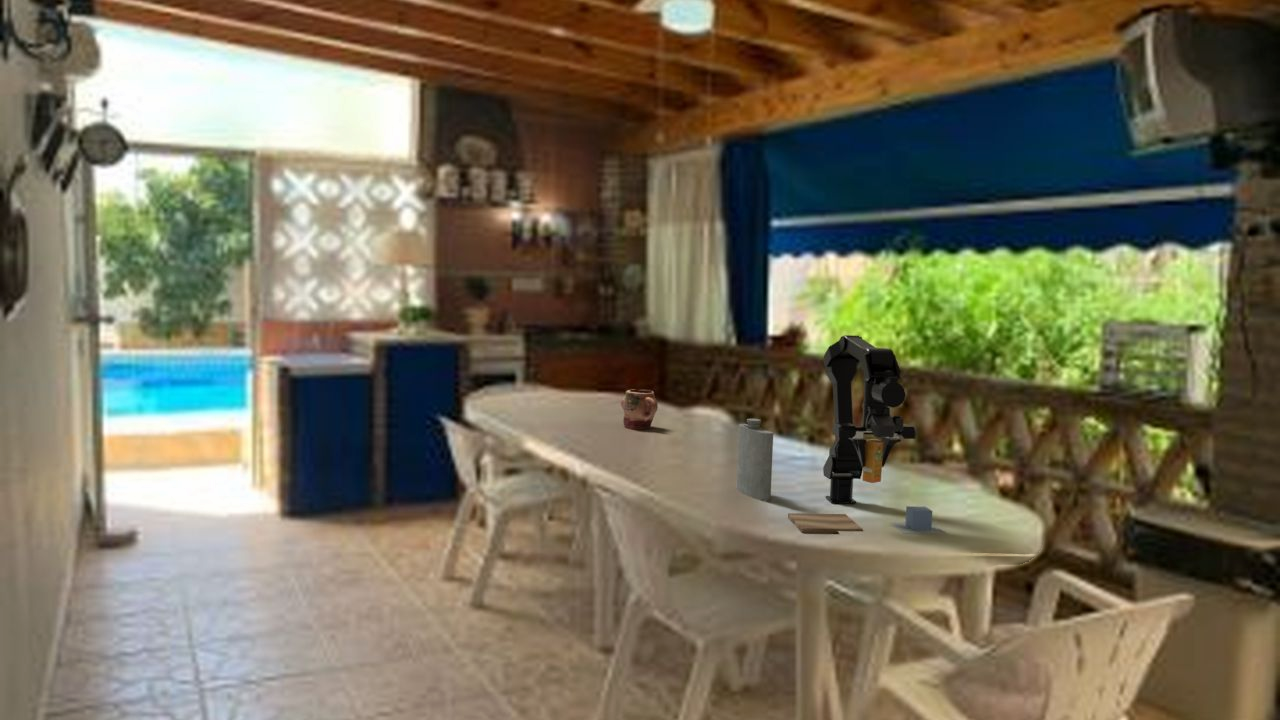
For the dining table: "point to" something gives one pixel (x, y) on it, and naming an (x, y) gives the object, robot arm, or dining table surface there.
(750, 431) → the hip flask
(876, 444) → the supplement box
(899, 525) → the grey mat
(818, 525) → the walnut board
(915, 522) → the slate blue block
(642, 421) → the pink rounded hollow vessel
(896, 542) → the dining table surface
